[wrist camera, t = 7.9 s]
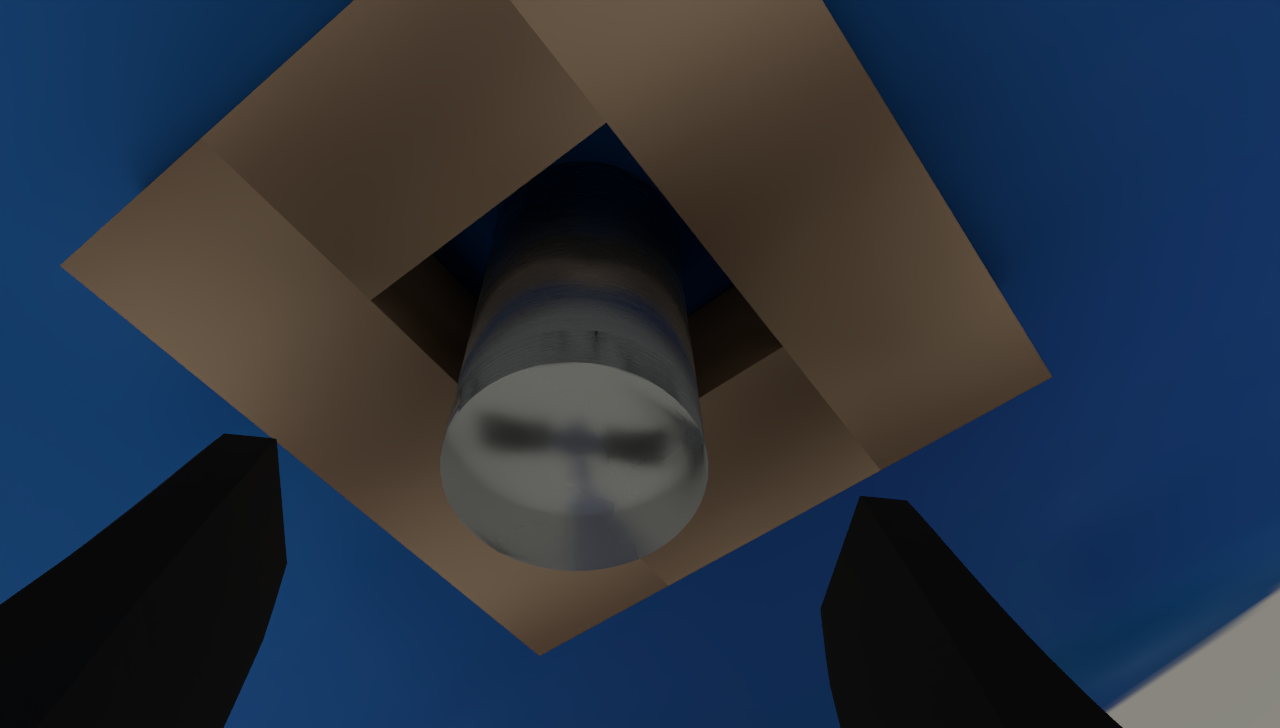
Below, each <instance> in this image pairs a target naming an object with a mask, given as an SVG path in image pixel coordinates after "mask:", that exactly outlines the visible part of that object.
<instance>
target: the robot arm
mask: <svg viewBox="0 0 1280 728" xmlns="http://www.w3.org/2000/svg"><path fill="white" fill-rule="evenodd" d="M286 565H287V559H286V547H285V535H284V523H283V511H282V499H281V487H280V475H279V462H278V450H277V439H274V438H264V437H254V436H244V435H233V434H223V435H222V436H220V437H219V438H218V439H216V440H215V441H214V442H213V443H211V444H210V445H209V446H207V447H206V448H205V449H204V450H202V451H201V452H200V453H199V454H197V455H196V456H195V457H194V458H192V459H191V460H190V461H189V462H188V463H186V464H185V465H184V466H183V467H181V468H180V469H179V470H178V471H176V472H175V473H174V474H173V475H172V476H170V477H169V478H168V479H167V480H165V481H164V482H163V483H162V484H161V485H159V486H158V487H157V488H156V489H154V490H153V491H152V492H151V493H149V494H148V495H147V496H146V497H144V498H143V499H142V500H141V501H139V502H138V503H137V504H136V505H134V506H133V507H132V508H131V509H129V510H128V511H127V512H126V513H124V514H123V515H122V516H120V517H119V518H118V519H117V520H115V521H114V522H113V523H111V524H110V525H109V526H107V527H106V528H105V529H104V530H102V531H101V532H100V533H98V534H97V535H96V536H95V537H93V538H92V539H91V540H89V541H88V542H87V543H86V544H84V545H83V546H82V547H80V548H79V549H78V550H76V551H75V552H74V553H72V554H71V555H70V556H68V557H67V558H65V559H64V560H63V561H61V562H60V563H58V564H57V565H56V566H54V567H53V568H51V569H50V570H49V571H47V572H46V573H44V574H43V575H41V576H40V577H39V578H37V579H36V580H34V581H33V582H32V583H30V584H29V585H27V586H26V587H25V588H23V589H22V590H20V591H19V592H17V593H16V594H15V595H13V596H12V597H10V598H9V599H8V600H6V601H5V602H3V603H2V604H0V728H224V726H225V723H226V721H227V719H228V717H229V715H230V712H231V710H232V708H233V706H234V704H235V702H236V699H237V697H238V695H239V693H240V690H241V688H242V686H243V684H244V682H245V679H246V677H247V675H248V673H249V671H250V668H251V666H252V664H253V662H254V659H255V657H256V655H257V653H258V650H259V648H260V646H261V643H262V641H263V639H264V636H265V632H266V629H267V626H268V623H269V620H270V617H271V614H272V611H273V608H274V605H275V601H276V598H277V595H278V591H279V588H280V585H281V581H282V578H283V575H284V571H285V568H286ZM821 618H822V627H823V636H824V645H825V653H826V660H827V667H828V674H829V681H830V687H831V691H832V695H833V699H834V703H835V707H836V711H837V715H838V719H839V723H840V727H841V728H1122V727H1121V726H1120V725H1119V724H1118V723H1117V722H1116V721H1114V720H1113V719H1112V718H1111V717H1110V716H1109V715H1108V714H1107V713H1106V712H1105V711H1104V710H1103V709H1101V708H1100V707H1099V706H1098V705H1097V704H1096V703H1095V702H1094V701H1093V700H1092V699H1091V698H1090V697H1089V696H1088V695H1087V694H1086V693H1085V692H1084V691H1083V690H1082V689H1081V688H1080V687H1079V686H1077V685H1076V684H1075V683H1074V682H1073V681H1072V680H1071V679H1070V678H1069V677H1068V676H1067V675H1066V674H1065V673H1064V672H1063V671H1062V670H1061V669H1060V668H1059V667H1058V666H1057V665H1056V664H1055V663H1054V662H1053V661H1052V660H1051V659H1050V658H1049V657H1048V656H1047V655H1046V654H1045V653H1044V652H1043V651H1042V650H1041V649H1040V648H1039V647H1038V645H1037V644H1036V643H1035V642H1034V641H1033V640H1032V639H1031V638H1030V637H1029V636H1028V635H1027V634H1026V633H1025V632H1024V631H1023V630H1022V629H1021V628H1020V627H1019V626H1018V624H1017V623H1016V622H1015V621H1014V620H1013V619H1012V618H1011V617H1010V616H1009V615H1008V614H1007V613H1006V611H1005V610H1004V609H1003V608H1002V607H1001V606H1000V605H999V604H998V603H997V602H996V601H995V599H994V598H993V597H992V596H991V595H990V594H989V593H988V592H987V590H986V589H985V588H984V587H983V586H982V585H981V584H980V583H979V582H978V580H977V579H976V578H975V577H974V576H973V575H972V574H971V572H970V571H969V570H968V569H967V568H966V567H965V566H964V564H963V563H962V562H961V561H960V560H959V559H958V558H957V556H956V555H955V554H954V553H953V552H952V551H951V550H950V548H949V547H948V546H947V545H946V544H945V543H944V542H943V540H942V539H941V538H940V537H939V536H938V535H937V534H936V532H935V531H934V530H933V529H932V528H931V527H930V526H929V524H928V523H927V522H926V521H925V520H924V519H923V518H922V517H921V515H920V514H919V513H918V512H917V511H916V510H915V509H914V508H913V507H912V506H911V505H910V504H909V502H908V501H907V500H896V499H886V498H876V497H866V496H860V498H859V501H858V504H857V506H856V509H855V512H854V515H853V518H852V521H851V524H850V526H849V529H848V532H847V535H846V538H845V541H844V544H843V546H842V549H841V552H840V555H839V558H838V561H837V564H836V566H835V569H834V572H833V575H832V578H831V581H830V584H829V586H828V589H827V592H826V595H825V598H824V601H823V604H822V606H821Z"/></svg>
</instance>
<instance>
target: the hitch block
mask: <svg viewBox="0 0 1280 728" xmlns="http://www.w3.org/2000/svg"><path fill="white" fill-rule="evenodd" d="M605 123H607V124H608V125H609V127H610V128H611V129H612V130H613V132H614V133H615V134H616V135H617V137H618V138H619V139H620V140H621V142H622V143H623V144H624V146H625V147H626V148H627V149H628V151H629V152H630V153H631V154H632V156H633V157H634V158H635V160H636V161H637V162H638V163H639V165H640V166H641V167H642V168H643V170H644V171H645V172H646V173H647V175H648V176H649V177H650V179H651V180H652V181H653V182H654V184H655V185H656V186H657V187H658V189H659V190H660V191H661V192H662V194H663V195H664V196H665V198H666V199H667V200H668V201H669V203H670V204H671V205H672V206H673V208H674V209H675V210H676V212H677V213H678V214H679V215H680V217H681V218H682V219H683V220H684V222H685V223H686V224H687V225H688V227H689V228H690V229H691V231H692V232H693V233H694V234H695V236H696V237H697V238H698V239H699V241H700V242H701V243H702V245H703V246H704V247H705V248H706V250H707V251H708V252H709V253H710V255H711V256H712V257H713V258H714V260H715V261H716V262H717V264H718V265H719V266H720V267H721V269H722V270H723V271H724V272H725V274H726V275H727V276H728V277H729V279H730V280H731V281H732V283H733V284H734V285H735V286H733V287H732V288H730V289H729V290H727V291H725V292H724V293H722V294H721V295H719V296H718V297H716V298H715V299H713V300H712V301H710V302H709V303H707V304H705V305H704V306H702V307H701V308H699V309H698V310H696V311H695V312H693V313H692V314H690V315H689V316H687V317H688V324H689V331H690V338H691V345H692V352H693V359H694V366H695V373H696V380H697V387H698V394H699V401H700V408H701V415H702V423H703V430H704V437H705V444H706V451H707V458H708V479H707V485H706V490H705V493H704V495H703V498H702V501H701V503H700V505H699V507H698V509H697V511H696V513H695V514H694V516H693V517H692V518H691V520H690V521H689V522H688V524H687V525H686V526H685V527H684V528H683V529H682V530H681V531H680V532H679V533H678V534H677V535H676V536H675V537H674V538H673V539H672V540H670V541H669V542H668V543H666V544H665V545H664V546H662V547H661V548H659V549H657V550H656V551H654V552H652V553H650V554H648V555H646V556H644V557H642V558H640V559H638V560H635V561H632V562H629V563H626V564H623V565H619V566H615V567H611V568H606V569H598V570H591V571H564V570H554V569H547V568H541V567H537V566H533V565H530V564H526V563H523V562H520V561H518V560H515V559H512V558H510V557H508V556H506V555H504V554H502V553H500V552H498V551H496V550H494V549H493V548H491V547H490V546H488V545H486V544H485V543H484V542H482V541H481V540H480V539H479V538H477V537H476V536H475V535H474V534H472V532H471V531H470V530H469V529H468V528H467V527H466V526H465V525H464V524H463V523H462V522H461V520H460V519H459V518H458V516H457V515H456V514H455V512H454V511H453V509H452V507H451V505H450V503H449V501H448V499H447V497H446V494H445V491H444V488H443V485H442V479H441V473H440V457H441V451H442V445H443V441H444V437H445V433H446V429H447V425H448V421H449V417H450V413H451V409H452V405H453V401H454V397H455V393H456V388H457V384H458V380H459V376H460V372H461V368H462V364H463V360H464V356H465V352H466V348H467V344H468V340H469V336H470V332H471V328H472V324H473V320H474V316H475V312H476V308H477V304H478V301H477V300H476V299H475V298H474V296H473V295H472V294H471V293H470V292H469V291H468V290H467V289H466V288H465V287H464V286H463V285H462V284H461V283H460V282H459V281H458V280H457V279H456V278H455V277H454V276H453V275H452V274H451V273H450V272H449V271H448V270H447V269H446V268H445V267H444V266H443V265H442V264H441V263H440V262H439V260H438V259H437V258H436V257H435V256H434V255H433V253H434V252H435V251H437V250H438V249H439V248H441V247H442V246H443V245H445V244H446V243H447V242H449V241H450V240H451V239H453V238H454V237H455V236H457V235H458V234H459V233H461V232H462V231H463V230H464V229H466V228H467V227H468V226H470V225H471V224H472V223H474V222H475V221H476V220H478V219H479V218H480V217H482V216H483V215H484V214H486V213H487V212H488V211H490V210H491V209H492V208H494V207H495V206H496V205H498V204H499V203H500V202H502V201H503V200H504V199H506V198H507V197H508V196H510V195H511V194H512V193H514V192H515V191H516V190H517V189H519V188H520V187H521V186H523V185H524V184H525V183H527V182H528V181H529V180H531V179H532V178H533V177H535V176H536V175H537V174H539V173H540V172H541V171H543V170H544V169H545V168H547V167H548V166H549V165H551V164H552V163H553V162H555V161H556V160H557V159H559V158H560V157H561V156H563V155H564V154H565V153H567V152H568V151H569V150H571V149H572V148H573V147H574V146H576V145H577V144H578V143H580V142H581V141H582V140H584V139H585V138H586V137H588V136H589V135H590V134H592V133H593V132H594V131H596V130H597V129H598V128H600V127H601V126H602V125H604V124H605ZM60 266H61V267H62V268H64V269H65V270H66V271H67V272H69V273H70V274H71V275H72V276H73V277H75V278H76V279H77V280H78V281H80V282H81V283H82V284H83V285H85V286H86V287H87V288H88V289H89V290H91V291H92V292H93V293H94V294H96V295H97V296H98V297H99V298H100V299H102V300H103V301H104V302H105V303H107V304H108V305H109V306H110V307H112V308H113V309H114V310H115V311H116V312H118V313H119V314H120V315H121V316H123V317H124V318H125V319H126V320H128V321H129V322H130V323H131V324H132V325H134V326H135V327H136V328H137V329H139V330H140V331H141V332H142V333H143V334H145V335H146V336H147V337H148V338H150V339H151V340H152V341H153V342H155V343H156V344H157V345H158V346H159V347H161V348H162V349H163V350H164V351H166V352H167V353H168V354H169V355H171V356H172V357H173V358H174V359H175V360H177V361H178V362H179V363H180V364H182V365H183V366H184V367H185V368H186V369H188V370H189V371H190V372H191V373H193V374H194V375H195V376H196V377H198V378H199V379H200V380H201V381H202V382H204V383H205V384H206V385H207V386H209V387H210V388H211V389H212V390H214V391H215V392H216V393H217V394H218V395H220V396H221V397H222V398H223V399H225V400H226V401H227V402H228V403H229V404H231V405H232V406H233V407H234V408H236V409H237V410H238V411H239V412H241V413H242V414H243V415H244V416H245V417H247V418H248V419H249V420H250V421H252V422H253V423H254V424H255V425H257V426H258V427H259V428H260V429H261V430H263V431H264V432H265V433H266V434H268V435H269V436H270V437H271V438H274V439H277V443H279V444H280V445H281V446H282V447H284V448H285V449H286V450H287V451H288V452H290V453H291V454H292V455H293V456H295V457H296V458H297V459H298V460H300V461H301V462H302V463H303V464H304V465H306V466H307V467H308V468H309V469H311V470H312V471H313V472H314V473H316V474H317V475H318V476H319V477H320V478H322V479H323V480H324V481H325V482H327V483H328V484H329V485H330V486H331V487H333V488H334V489H335V490H336V491H338V492H339V493H340V494H341V495H343V496H344V497H345V498H346V499H347V500H349V501H350V502H351V503H352V504H354V505H355V506H356V507H357V508H359V509H360V510H361V511H362V512H363V513H365V514H366V515H367V516H368V517H370V518H371V519H372V520H373V521H374V522H376V523H377V524H378V525H379V526H381V527H382V528H383V529H384V530H386V531H387V532H388V533H389V534H390V535H392V536H393V537H394V538H395V539H397V540H398V541H399V542H400V543H402V544H403V545H404V546H405V547H406V548H408V549H409V550H410V551H411V552H413V553H414V554H415V555H416V556H417V557H419V558H420V559H421V560H422V561H424V562H425V563H426V564H427V565H429V566H430V567H431V568H432V569H433V570H435V571H436V572H437V573H438V574H440V575H441V576H442V577H443V578H445V579H446V580H447V581H448V582H449V583H451V584H452V585H453V586H454V587H456V588H457V589H458V590H459V591H460V592H462V593H463V594H464V595H465V596H467V597H468V598H469V599H470V600H472V601H473V602H474V603H475V604H476V605H478V606H479V607H480V608H481V609H483V610H484V611H485V612H486V613H488V614H489V615H490V616H491V617H492V618H494V619H495V620H496V621H497V622H499V623H500V624H501V625H502V626H503V627H505V628H506V629H507V630H508V631H510V632H511V633H512V634H513V635H515V636H516V637H517V638H518V639H519V640H521V641H522V642H523V643H524V644H526V645H527V646H528V647H529V648H531V649H532V650H533V651H534V652H535V653H537V654H538V655H539V656H540V655H542V654H544V653H546V652H548V651H549V650H551V649H553V648H555V647H557V646H559V645H560V644H562V643H564V642H566V641H568V640H570V639H571V638H573V637H575V636H577V635H579V634H581V633H582V632H584V631H586V630H588V629H590V628H592V627H593V626H595V625H597V624H599V623H601V622H603V621H605V620H606V619H608V618H610V617H612V616H614V615H616V614H617V613H619V612H621V611H623V610H625V609H627V608H628V607H630V606H632V605H634V604H636V603H638V602H639V601H641V600H643V599H645V598H647V597H649V596H650V595H652V594H654V593H656V592H658V591H660V590H661V589H663V588H665V587H667V586H669V585H671V584H673V583H674V582H676V581H678V580H680V579H682V578H684V577H685V576H687V575H689V574H691V573H693V572H695V571H696V570H698V569H700V568H702V567H704V566H706V565H707V564H709V563H711V562H713V561H715V560H717V559H718V558H720V557H722V556H724V555H726V554H728V553H730V552H731V551H733V550H735V549H737V548H739V547H741V546H742V545H744V544H746V543H748V542H750V541H752V540H753V539H755V538H757V537H759V536H761V535H763V534H764V533H766V532H768V531H770V530H772V529H774V528H775V527H777V526H779V525H781V524H783V523H785V522H786V521H788V520H790V519H792V518H794V517H796V516H798V515H799V514H801V513H803V512H805V511H807V510H809V509H810V508H812V507H814V506H816V505H818V504H820V503H821V502H823V501H825V500H827V499H829V498H831V497H832V496H834V495H836V494H838V493H840V492H842V491H843V490H845V489H847V488H849V487H851V486H853V485H854V484H856V483H858V482H860V481H862V480H864V479H866V478H867V477H869V476H871V475H873V474H875V473H877V472H878V471H880V470H882V469H884V468H886V467H888V466H889V465H891V464H893V463H895V462H897V461H899V460H900V459H902V458H904V457H906V456H908V455H910V454H911V453H913V452H915V451H917V450H919V449H921V448H923V447H924V446H926V445H928V444H930V443H932V442H934V441H935V440H937V439H939V438H941V437H943V436H945V435H946V434H948V433H950V432H952V431H954V430H956V429H957V428H959V427H961V426H963V425H965V424H967V423H968V422H970V421H972V420H974V419H976V418H978V417H979V416H981V415H983V414H985V413H987V412H989V411H991V410H992V409H994V408H996V407H998V406H1000V405H1002V404H1003V403H1005V402H1007V401H1009V400H1011V399H1013V398H1014V397H1016V396H1018V395H1020V394H1022V393H1024V392H1025V391H1027V390H1029V389H1031V388H1033V387H1035V386H1036V385H1038V384H1040V383H1042V382H1044V381H1046V380H1048V379H1049V378H1051V377H1052V376H1051V374H1050V372H1049V371H1048V369H1047V367H1046V366H1045V364H1044V362H1043V361H1042V359H1041V358H1040V356H1039V354H1038V353H1037V351H1036V349H1035V348H1034V346H1033V344H1032V343H1031V341H1030V340H1029V338H1028V336H1027V335H1026V333H1025V331H1024V330H1023V328H1022V326H1021V325H1020V323H1019V322H1018V320H1017V318H1016V317H1015V315H1014V313H1013V312H1012V310H1011V308H1010V307H1009V305H1008V304H1007V302H1006V300H1005V299H1004V297H1003V295H1002V294H1001V292H1000V290H999V289H998V287H997V286H996V284H995V282H994V281H993V279H992V277H991V276H990V274H989V272H988V271H987V269H986V268H985V266H984V264H983V263H982V261H981V259H980V258H979V256H978V254H977V253H976V251H975V250H974V248H973V246H972V245H971V243H970V241H969V240H968V238H967V236H966V235H965V233H964V232H963V230H962V228H961V227H960V225H959V223H958V222H957V220H956V218H955V217H954V215H953V214H952V212H951V210H950V209H949V207H948V205H947V204H946V202H945V200H944V199H943V197H942V196H941V194H940V192H939V191H938V189H937V187H936V186H935V184H934V182H933V181H932V179H931V178H930V176H929V174H928V173H927V171H926V169H925V168H924V166H923V164H922V163H921V161H920V160H919V158H918V156H917V155H916V153H915V151H914V150H913V148H912V146H911V145H910V143H909V142H908V140H907V138H906V137H905V135H904V133H903V132H902V130H901V128H900V127H899V125H898V124H897V122H896V120H895V119H894V117H893V115H892V114H891V112H890V110H889V109H888V107H887V106H886V104H885V102H884V101H883V99H882V97H881V96H880V94H879V92H878V91H877V89H876V88H875V86H874V84H873V83H872V81H871V79H870V78H869V76H868V74H867V73H866V71H865V70H864V68H863V66H862V65H861V63H860V61H859V60H858V58H857V56H856V55H855V53H854V52H853V50H852V48H851V47H850V45H849V43H848V42H847V40H846V38H845V37H844V35H843V34H842V32H841V30H840V29H839V27H838V25H837V24H836V22H835V20H834V19H833V17H832V16H831V14H830V12H829V11H828V9H827V7H826V6H825V4H824V2H823V1H822V0H354V1H353V2H352V3H350V4H349V5H348V6H347V7H346V8H345V9H344V10H343V11H342V12H340V13H339V14H338V15H337V16H336V17H335V18H334V19H333V20H332V21H330V22H329V23H328V24H327V25H326V26H325V27H324V28H323V29H322V30H321V31H319V32H318V33H317V34H316V35H315V36H314V37H313V38H312V39H311V40H309V41H308V42H307V43H306V44H305V45H304V46H303V47H302V48H301V49H299V50H298V51H297V52H296V53H295V54H294V55H293V56H292V57H291V58H290V59H288V60H287V61H286V62H285V63H284V64H283V65H282V66H281V67H280V68H278V69H277V70H276V71H275V72H274V73H273V74H272V75H271V76H270V77H268V78H267V79H266V80H265V81H264V82H263V83H262V84H261V85H260V86H258V87H257V88H256V89H255V90H254V91H253V92H252V93H251V94H250V95H249V96H247V97H246V98H245V99H244V100H243V101H242V102H241V103H240V104H239V105H237V106H236V107H235V108H234V109H233V110H232V111H231V112H230V113H229V114H227V115H226V116H225V117H224V118H223V119H222V120H221V121H220V122H219V123H217V124H216V125H215V126H214V127H213V128H212V129H211V130H210V131H209V132H208V133H206V134H205V135H204V136H203V137H202V138H201V139H200V140H199V141H198V142H196V143H195V144H194V145H193V146H192V147H191V148H190V149H189V150H188V151H186V152H185V153H184V154H183V155H182V156H181V157H180V158H179V159H178V160H177V161H175V162H174V163H173V164H172V165H171V166H170V167H169V168H168V169H167V170H165V171H164V172H163V173H162V174H161V175H160V176H159V177H158V178H157V179H155V180H154V181H153V182H152V183H151V184H150V185H149V186H148V187H147V188H145V189H144V190H143V191H142V192H141V193H140V194H139V195H138V196H137V197H136V198H134V199H133V200H132V201H131V202H130V203H129V204H128V205H127V206H126V207H124V208H123V209H122V210H121V211H120V212H119V213H118V214H117V215H116V216H114V217H113V218H112V219H111V220H110V221H109V222H108V223H107V224H106V225H105V226H103V227H102V228H101V229H100V230H99V231H98V232H97V233H96V234H95V235H93V236H92V237H91V238H90V239H89V240H88V241H87V242H86V243H85V244H83V245H82V246H81V247H80V248H79V249H78V250H77V251H76V252H75V253H73V254H72V255H71V256H70V257H69V258H68V259H67V260H66V261H65V262H64V263H62V264H61V265H60Z"/></svg>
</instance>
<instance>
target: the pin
mask: <svg viewBox="0 0 1280 728" xmlns="http://www.w3.org/2000/svg"><path fill="white" fill-rule="evenodd" d="M440 473H441V479H442V485H443V488H444V491H445V494H446V497H447V499H448V501H449V503H450V505H451V507H452V509H453V511H454V512H455V514H456V515H457V516H458V518H459V519H460V520H461V522H462V523H463V524H464V525H465V526H466V527H467V528H468V529H469V530H470V531H471V532H472V534H474V535H475V536H476V537H477V538H479V539H480V540H481V541H482V542H484V543H485V544H486V545H488V546H490V547H491V548H493V549H494V550H496V551H498V552H500V553H502V554H504V555H506V556H508V557H510V558H512V559H515V560H518V561H520V562H523V563H526V564H530V565H533V566H537V567H541V568H547V569H554V570H564V571H591V570H598V569H606V568H611V567H615V566H619V565H623V564H626V563H629V562H632V561H635V560H638V559H640V558H642V557H644V556H646V555H648V554H650V553H652V552H654V551H656V550H657V549H659V548H661V547H662V546H664V545H665V544H666V543H668V542H669V541H670V540H672V539H673V538H674V537H675V536H676V535H677V534H678V533H679V532H680V531H681V530H682V529H683V528H684V527H685V526H686V525H687V524H688V522H689V521H690V520H691V518H692V517H693V516H694V514H695V513H696V511H697V509H698V507H699V505H700V503H701V501H702V498H703V495H704V493H705V490H706V485H707V479H708V458H707V451H706V444H705V437H704V430H703V423H702V415H701V408H700V401H699V394H698V387H697V380H696V373H695V366H694V359H693V352H692V345H691V338H690V331H689V324H688V317H687V310H686V303H685V296H684V289H683V282H682V275H681V268H680V261H679V254H678V246H677V239H676V233H675V228H674V224H673V221H672V218H671V216H670V214H669V212H668V209H667V208H666V206H665V205H664V203H663V201H662V200H661V199H660V197H659V196H658V195H657V194H656V193H655V191H654V190H653V189H651V188H650V187H649V186H648V185H647V184H646V183H645V182H643V181H642V180H640V179H639V178H638V177H636V176H635V175H633V174H631V173H629V172H627V171H625V170H623V169H620V168H617V167H614V166H611V165H607V164H602V163H595V162H573V163H567V164H561V165H558V166H554V167H551V168H549V169H546V170H544V171H542V172H540V173H539V174H537V175H536V176H535V177H533V178H532V179H531V180H529V181H528V182H527V183H525V184H524V185H523V186H521V187H520V188H519V189H517V190H516V191H515V192H514V193H513V194H512V196H511V197H510V198H509V200H508V201H507V203H506V204H505V206H504V208H503V210H502V212H501V214H500V217H499V220H498V223H497V227H496V231H495V235H494V239H493V243H492V247H491V251H490V255H489V259H488V263H487V267H486V271H485V275H484V279H483V283H482V287H481V291H480V296H479V300H478V304H477V308H476V312H475V316H474V320H473V324H472V328H471V332H470V336H469V340H468V344H467V348H466V352H465V356H464V360H463V364H462V368H461V372H460V376H459V380H458V384H457V388H456V393H455V397H454V401H453V405H452V409H451V413H450V417H449V421H448V425H447V429H446V433H445V437H444V441H443V445H442V451H441V457H440Z"/></svg>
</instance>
